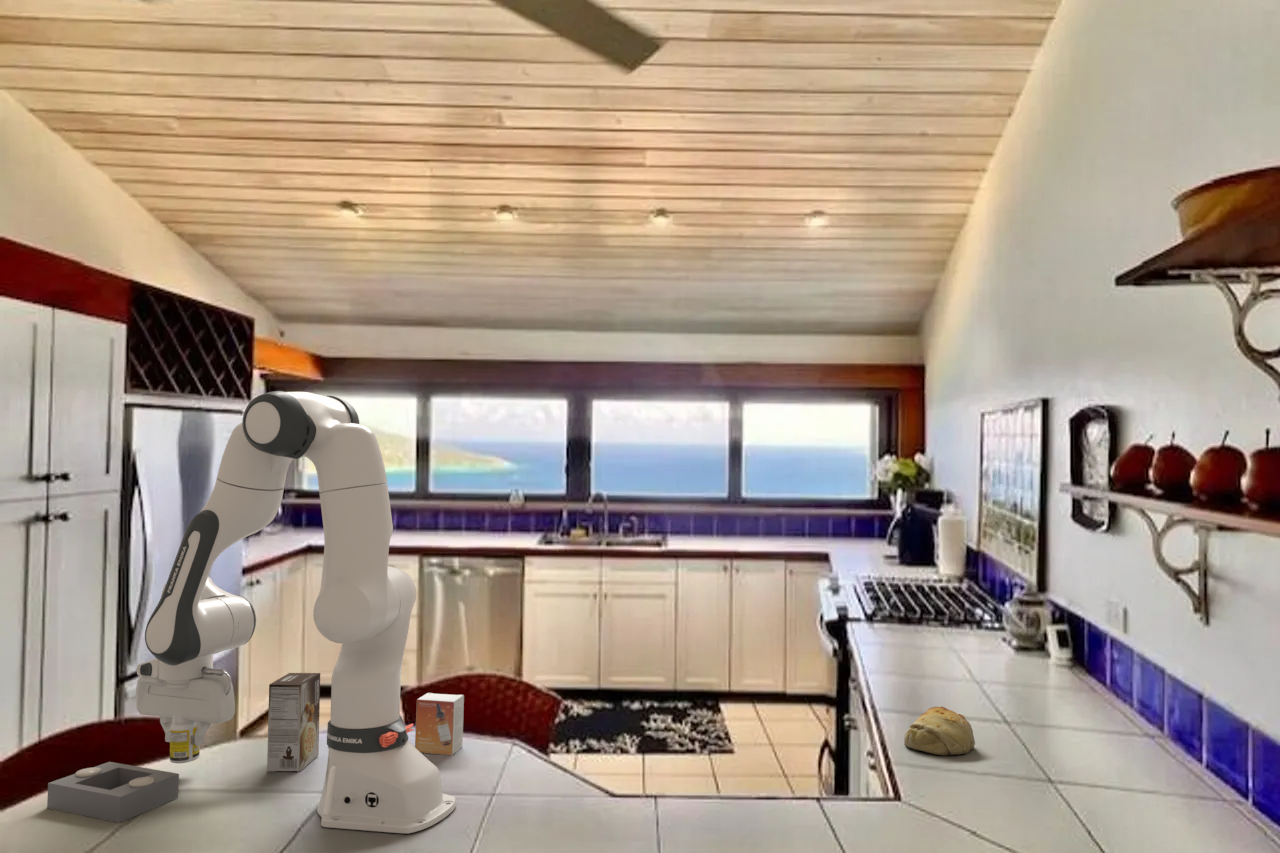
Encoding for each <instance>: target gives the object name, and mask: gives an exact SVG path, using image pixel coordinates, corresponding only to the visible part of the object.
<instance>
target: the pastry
mask: <svg viewBox="0 0 1280 853" xmlns="http://www.w3.org/2000/svg"><path fill="white" fill-rule="evenodd" d="M903 741H904V742H903V743H904V744H903V745H904V746H905V747H907V748H908V749H909V748H910V749H913V750H916V751H922V752H924V753H928V754H931V755H938V756H946V757H947V756H951V755H955V756H956V755H961V754H962V755H966V754H969V752H971V751H973V750H974V749H975V745H976V741H975V736H974V731H973V728H972V725H971V723H970V722H969V721H968V720H967V719H966V717H965V716H964V715H963V714H960V713H957V712H955V711H953V710H950V709H948V708H946V707H944V706H933V707H929V708H928V709H927V710H926V711H925V712H924V713H922V714H921V715H920V716H919V717H918V718H917V719H916V720H914V722H913V723H912V724H911V725H910V726H909V728H908V729H907V730H906V732H905V733H904V738H903Z"/></svg>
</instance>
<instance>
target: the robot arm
mask: <svg viewBox="0 0 1280 853" xmlns="http://www.w3.org/2000/svg"><path fill="white" fill-rule="evenodd" d="M241 421H242V422H240V423H239V424H237V425H236V426H235V427H234V428H233V429H232V432H231V434H230V436H229V438H228V440H227V443H226V445H225V448H224V451H223V454H222V457H221V460H220V464H219V466H218V467H219V468H218V471H217V477H216V480H215V484H214V486H213V490H212V492H211V494H210V496H209V498H208V499H207V502H206V504H205V505H204V507H203V508H202V509H201V510H200V511H199V512H198V513H197V514H196V515H195V516H194V517H193V518H192V519H191V521H190V523H189V524H188V526H187V528H186V530H185V533H184V535H183V536H182V537H183V538H182V540H181V543H180V544H179V548H178V551H177V554H176V557H175V558H174V562H173V564H172V567H171V570H170V573H169V575H168V578H167V581H166V583H165V584H164V586H163V588H162V591H161V596H160V599H159V601H158V603H157V605H156V607H155V608H154V609H153V612H152V613H151V614H150V617H149V618H148V621H147V623H146V627H145V632H144V640H145V645H146V647H147V649H148V651H149V652H150V654H151V655H152V656H154V659H150V660H147V661H145V662H141V663H139V664H137V666H136V674H137V676H139V678H138V679H137V681H136V690H135V707H136V710H137V712H138V713H139V714H140V715H142V716H150V717H151V716H152V717H159V718H160V719H159V723H160V725H161V727H162V730H163V731H164V735H165V736H164V740H165V742H167V743H170V727H171V725H172V724H173V721H172V719H173V715H178V716H181V718H182V719H183V720H191V721H195V727H198V728H197V730H196V733H195V735H191V745H195V746H199V745H200V746H202V745H204V744H205V742H206V733H207V732H208V729H209V727H210V726H211V723H212V724H217V725H218V724H222V723H225V722H228V721H231V719H233V717H234V715H235V713H236V704H235V702H236V701H235V693H234V686H233V682H232V676H231V675H229V673H228V672H227V671H226V670H225V669H224V668H214V654H218V653H221V652H224V651H228V650H229V651H230V650H233V649H236V648H239V647H241V646H244V645H247V643H248V642H249V641H250V640H251V639H252V637H253V636H254V633H255V630H256V626H257V625H256V624H257V616H256V610H255V608H254V607H253V605H252V603H251V602H250V601H249V600H248V599H247V598H246V597H244V596H242V595H235V594H233V593H231V592H228V591H226V590H224V589H222V588H220V587H219V586H217V585H216V584H215V583H214V580H213V579H212V578H211V577H210V576H209V575H210V573H211V571H212V568H213V565H214V563H215V562H216V560H217V559H218V557H219V556H220V555H221V554H222V553H223V552H225V550H227V549H228V548H230V547H231V546H232V545H234V544H236V543H238V542H239V541H241V540H244V539H245V538H246V537H249V536H251V535H254V534H256V533H258V532H260V531H261V530H263V529H264V528H266V527H267V526H268V525H269V524H271V522H272V521H273V520H275V517H276V516H277V514H278V512H279V509H280V507H281V503H282V499H283V495H284V490H285V485H286V480H287V476H288V470H289V466H290V464H291V462H293V461H294V460H297V459H300V458H301V457H304V458H306V459H308V460H309V461H311V462H312V463H313V466H314V467H315V470H316V475H317V482H318V492H319V502H320V509H321V518H322V526H323V527H322V528H323V538H324V545H323V546H324V548H323V559H322V561H323V562H322V571H321V580H320V581H321V582H320V590H319V592H318V596H317V597H316V600H315V602H314V606H313V613H312V614H313V615H312V616H313V621H314V625H315V627H316V628H317V630H318V632H319V633H320V634H321V636H323V637H324V638H325V639H327V640H328V641H330V642H333V643H336V644H341V647H340V652H339V656H338V659H337V661H336V664H335V665H334V668H333V670H332V673H331V686H330V687H331V688H330V689H331V690H330V692H331V693H330V720H329V721H327V729H326V731H327V732H326V745H327V748H328V756H327V763H326V770H325V772H326V773H325V778H324V781H323V782H324V783H323V788H322V792H321V796H320V800H319V803H318V805H317V808H316V811H317V814H318V815H319V817H320V818H321V819H320V820H321V821H320V825H321V827H324V828H329V829H330V828H333V829H344V830H357V831H358V830H359V831H368V832H380V833H381V832H383V833H393V834H394V833H395V834H411V833H416V832H419V831H422V830H424V829H427V828H430V827H431V826H434V825H435V824H437V823H439V822H441V821H442V820H444V819H445V818H446V817H448V816H449V815H450V814H451V813H452V812H453V811H454V810H455V808H456V806H457V803H456V797H455V796H453V795H450V794H447V793H443V785H442V784H443V783H442V777H441V773H440V770H439V768H438V767H437V766H436V765H435V764H434V763H433V762H432V761H430V760H429V759H428V758H427V757H426V756H425V755H424V753H421V752H419V751H418V750H417V749H416V748H415V745H413V744H412V743H411V742H410V741H409V735H408V733H409V732H411V731H414V728H412V727H413V726H414V723H410V724H408V725H406V726H405V722H404V720H403V718H402V716H401V715H400V713H401V711H400V710H401V709H400V708H401V706H400V705H401V684H402V683H401V682H402V680H401V677H402V668H403V667H402V666H403V660H404V655H405V650H406V646H407V645H406V644H407V639H408V634H409V628H410V620H411V616H412V611H413V608H414V605H415V603H416V599H417V589H416V588H417V587H416V584H415V582H414V580H413V579H412V577H411V576H410V575H409V574H408V573H407V572H406V571H405V570H402V569H400V568H397V567H394V566H389V565H388V564H389V552H390V542H391V538H392V535H393V533H394V532H393V531H394V524H393V518H392V508H391V501H390V494H389V487H388V478H387V473H386V472H387V471H386V468H385V463H384V459H383V455H382V452H381V449H380V444H379V443H378V439H377V437H376V434H375V433H374V432H373V430H372V429H370V428H369V427H368V426H366V425H363V424H361V423H360V419H359V416H358V413H357V410H356V409H355V407H354V406H352V405H351V403H349V402H347V401H346V400H344V399H342V398H341V397H337V396H334V395H322V394H318V393H313V392H308V391H283V390H276V391H275V390H274V391H269V392H265V393H262V394H260V395H257V396H256V397H254V398H252V400H251V401H250V402H249V403H248V404H247V406H246V407H245V409H244V412H243V416H242V420H241Z"/></svg>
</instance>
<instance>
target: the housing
mask: <svg viewBox="0 0 1280 853" xmlns="http://www.w3.org/2000/svg"><path fill="white" fill-rule="evenodd" d="M179 782H180V773H176V772H170V771H164V770H160V769H154V768H147V767H142V766H136V765H131V764H126V763H119V762H113V761H108V762H105V763H101V764H99V765H96V766H94V767H86V768H82V769H79V770H77V771H76V772H75V773H73V774H70V775H67V776H65V777H61V778H59V779H56V780H53V781H51V782H48V783H47V803H46V804H47V805H46V808H47V809H50V810H51V809H52V810H56V811H60V812H64V813H65V812H66V813H70V814H76V815H79V814H80V816H86V817H89V818H90V817H91V818H94V819H99V820H104V821H109V822H113V823H118V824H119V823H123V822H125V821H127V820H129V819H132V818H133V817H136V816H138V815H141V814H143V813H146V812H148V811H150V810H153V809H156V808H157V807H160V806H162V805H164V804H167V803H169V802H172V801H174V800H176V799H179V786H180V783H179Z"/></svg>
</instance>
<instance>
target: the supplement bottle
mask: <svg viewBox="0 0 1280 853" xmlns="http://www.w3.org/2000/svg"><path fill="white" fill-rule="evenodd" d="M172 721H173V724H172V725H171V727H170V742H169V761H170V762H171V763H172V764H185V763H190V762H193V761H196V760H197V759H199V758H200V754H201V753H200V751H201V750H200V747H201V745H199V746H195V745H191V735H195V733H196V730H197V728H198V727H195V721H191V720H183V719H182V718H181V716H178V715H173V719H172Z"/></svg>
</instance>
